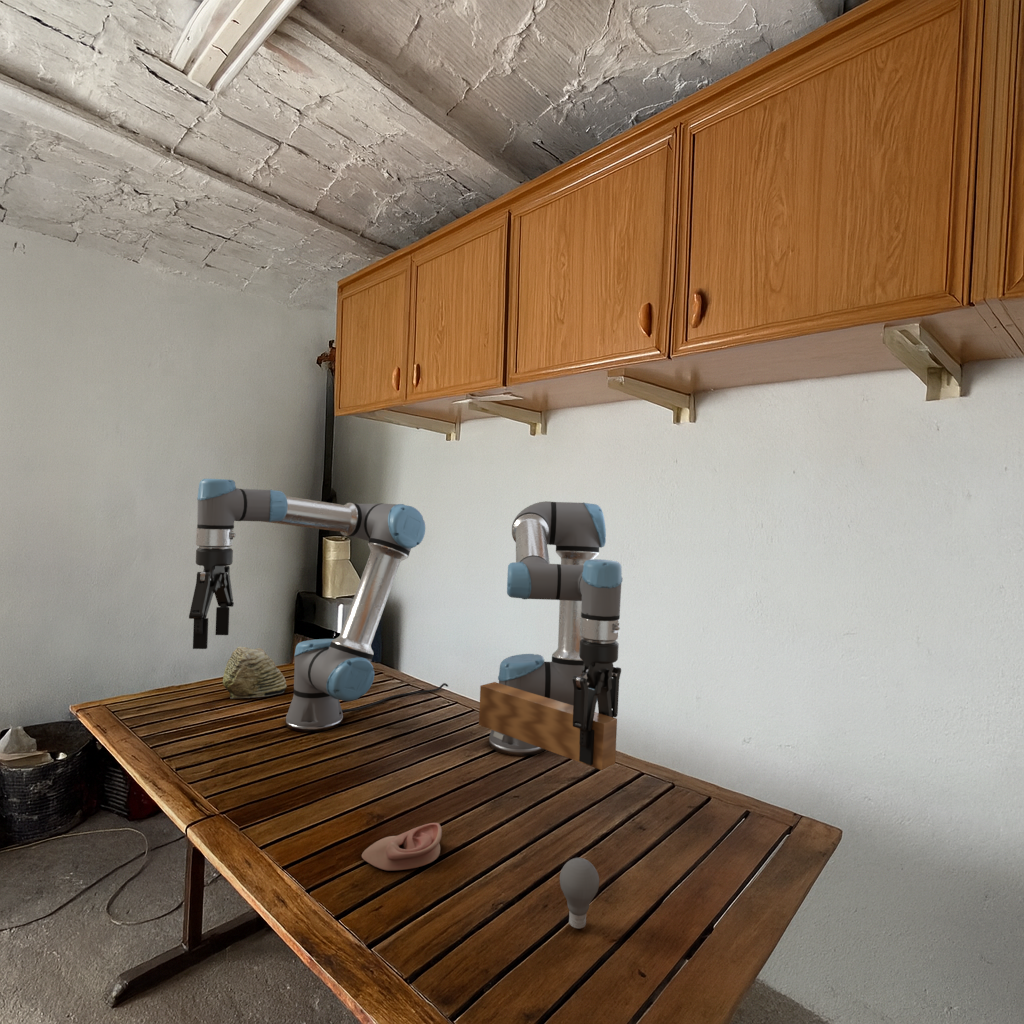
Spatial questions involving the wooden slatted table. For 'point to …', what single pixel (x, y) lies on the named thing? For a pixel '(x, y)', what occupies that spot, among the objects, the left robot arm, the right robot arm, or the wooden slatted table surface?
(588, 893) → the light bulb
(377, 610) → the left robot arm
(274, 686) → the fossil
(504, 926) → the wooden slatted table surface
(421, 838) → the anatomical model
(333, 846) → the wooden slatted table surface
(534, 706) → the bar
